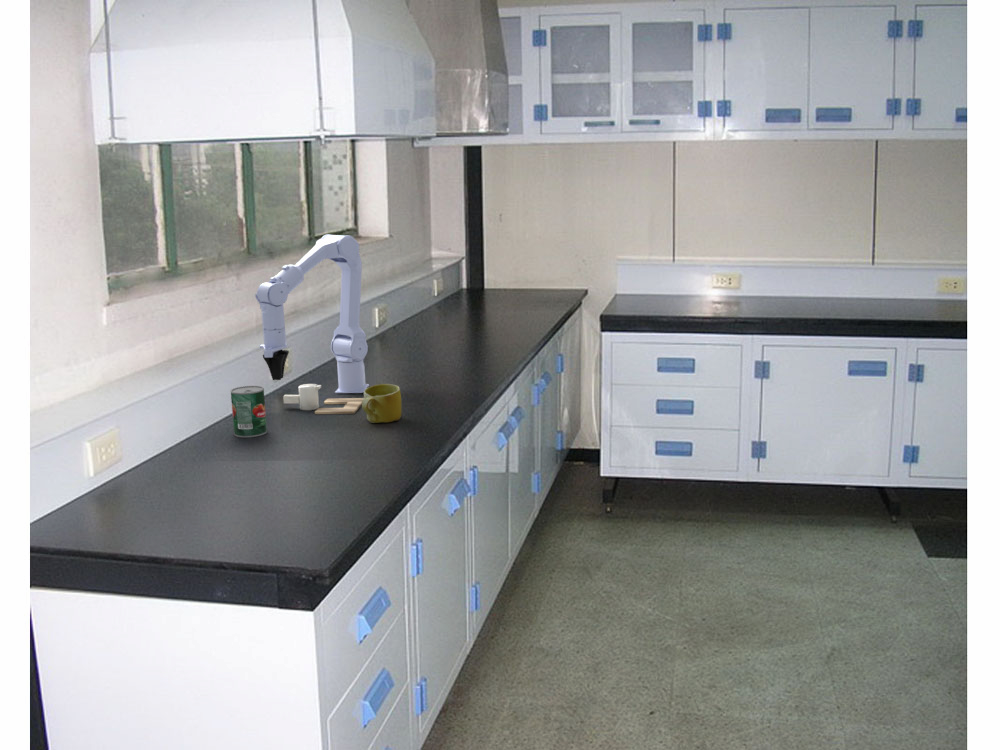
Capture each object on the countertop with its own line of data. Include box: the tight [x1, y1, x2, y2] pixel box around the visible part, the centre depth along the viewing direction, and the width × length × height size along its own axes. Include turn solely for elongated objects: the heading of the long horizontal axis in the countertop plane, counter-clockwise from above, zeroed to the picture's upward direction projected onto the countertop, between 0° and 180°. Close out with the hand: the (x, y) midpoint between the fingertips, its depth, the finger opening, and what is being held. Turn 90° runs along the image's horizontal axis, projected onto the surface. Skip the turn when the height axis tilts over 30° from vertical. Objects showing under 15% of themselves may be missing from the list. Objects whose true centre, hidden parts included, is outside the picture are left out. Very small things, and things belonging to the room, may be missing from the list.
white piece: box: [282, 383, 322, 411], centre depth 275 cm, size 10×5×6 cm, turn 83°
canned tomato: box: [230, 385, 268, 438], centre depth 250 cm, size 8×8×11 cm
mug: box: [361, 383, 402, 424], centre depth 259 cm, size 12×10×10 cm
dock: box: [314, 397, 364, 415], centre depth 275 cm, size 14×10×1 cm
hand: (277, 379), depth 274 cm, fingers closed
